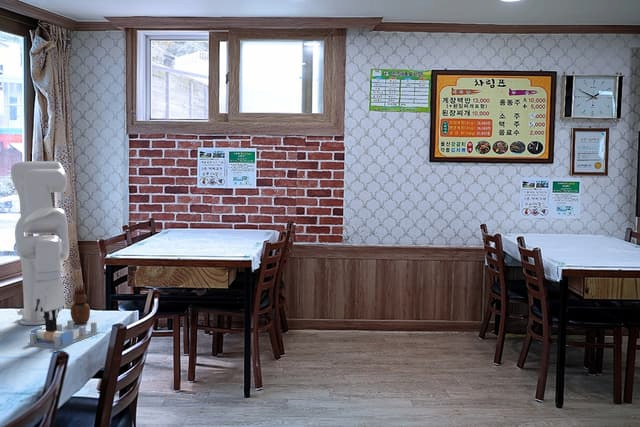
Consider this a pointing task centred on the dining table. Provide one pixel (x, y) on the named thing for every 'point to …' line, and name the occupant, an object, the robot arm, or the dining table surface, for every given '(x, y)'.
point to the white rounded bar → (47, 335)
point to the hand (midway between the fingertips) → (51, 330)
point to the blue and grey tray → (64, 335)
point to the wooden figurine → (80, 307)
